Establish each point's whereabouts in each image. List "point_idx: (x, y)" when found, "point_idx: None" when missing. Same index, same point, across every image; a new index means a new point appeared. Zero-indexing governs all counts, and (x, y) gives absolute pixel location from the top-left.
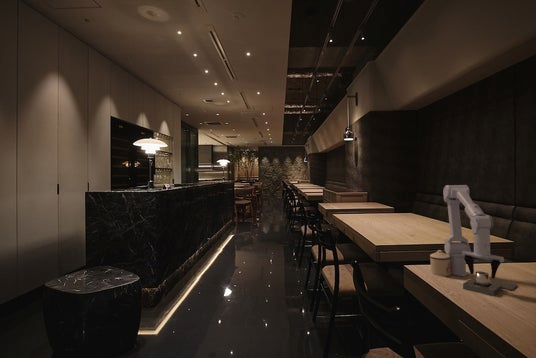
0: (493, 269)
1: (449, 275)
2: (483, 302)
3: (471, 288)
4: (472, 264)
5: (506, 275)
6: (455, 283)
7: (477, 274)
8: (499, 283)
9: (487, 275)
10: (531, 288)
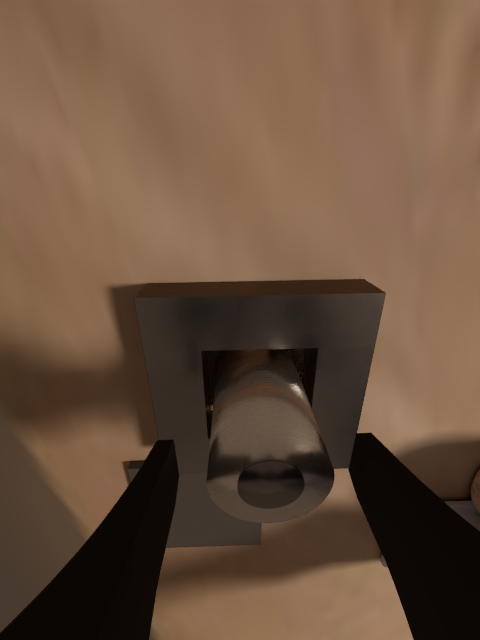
0: (101, 548)
1: (478, 472)
2: (129, 10)
3: (308, 287)
4: (413, 581)
5: (239, 620)
6: (428, 361)
7: (302, 428)
8: (213, 513)
9: (211, 458)
10: None
